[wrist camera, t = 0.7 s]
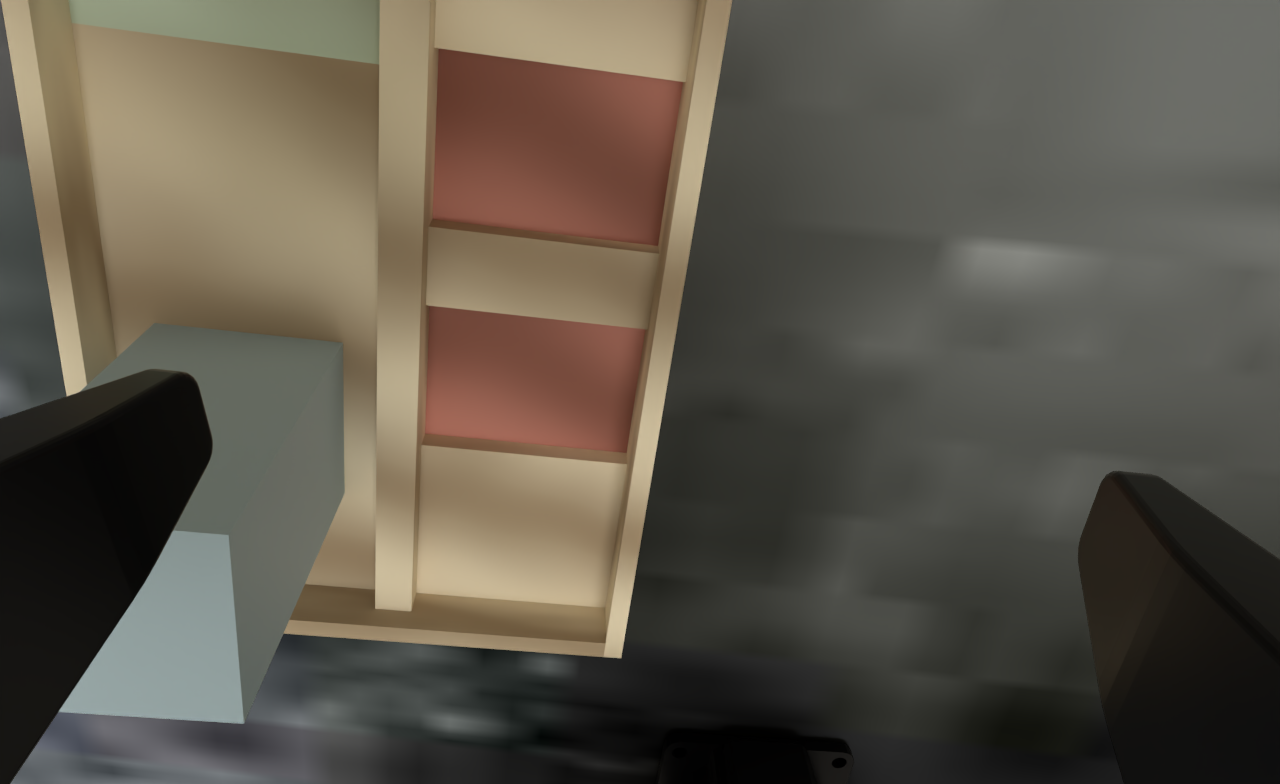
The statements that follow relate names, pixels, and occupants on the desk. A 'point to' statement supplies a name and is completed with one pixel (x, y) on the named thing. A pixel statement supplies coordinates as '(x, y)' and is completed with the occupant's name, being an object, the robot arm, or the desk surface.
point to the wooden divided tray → (402, 264)
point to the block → (228, 526)
